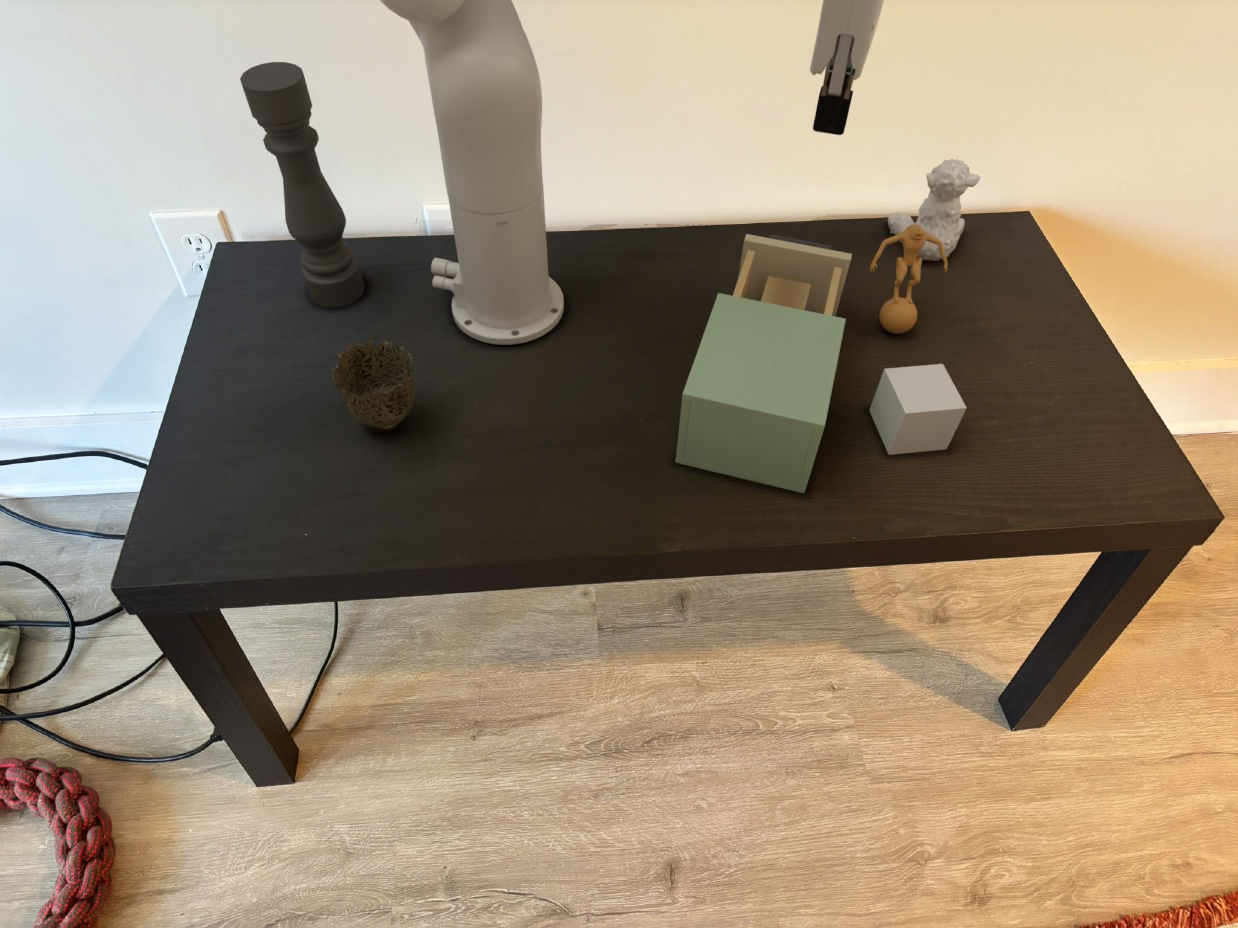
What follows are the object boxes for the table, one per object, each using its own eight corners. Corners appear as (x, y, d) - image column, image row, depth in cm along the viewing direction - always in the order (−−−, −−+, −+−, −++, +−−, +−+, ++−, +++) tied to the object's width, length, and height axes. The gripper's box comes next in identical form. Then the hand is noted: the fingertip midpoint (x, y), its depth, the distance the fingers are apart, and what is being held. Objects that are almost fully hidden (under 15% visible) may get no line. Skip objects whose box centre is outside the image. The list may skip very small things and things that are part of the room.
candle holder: (375, 285, 98) (320, 72, 79) (337, 314, 95) (270, 99, 76) (336, 267, 100) (273, 54, 81) (298, 295, 97) (222, 80, 78)
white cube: (924, 405, 87) (943, 363, 83) (946, 449, 84) (967, 407, 79) (868, 410, 87) (884, 368, 82) (888, 455, 83) (905, 413, 78)
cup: (410, 457, 82) (394, 400, 76) (338, 445, 83) (317, 387, 77) (436, 402, 86) (423, 344, 80) (368, 391, 87) (350, 333, 81)
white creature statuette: (960, 228, 107) (994, 140, 98) (972, 270, 102) (1009, 182, 93) (885, 223, 108) (912, 135, 98) (893, 265, 102) (922, 176, 93)
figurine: (860, 341, 94) (888, 251, 84) (850, 305, 97) (876, 215, 88) (934, 341, 94) (971, 251, 84) (921, 306, 98) (955, 216, 88)
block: (754, 335, 91) (760, 302, 87) (762, 309, 94) (768, 275, 90) (796, 344, 90) (804, 311, 87) (803, 317, 93) (811, 284, 89)
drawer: (744, 268, 100) (753, 211, 94) (841, 287, 98) (857, 230, 92) (711, 369, 89) (719, 311, 83) (819, 392, 87) (835, 335, 81)
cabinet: (708, 363, 91) (718, 292, 83) (825, 388, 89) (846, 318, 81) (675, 462, 82) (682, 393, 75) (804, 493, 80) (825, 425, 72)
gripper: (837, -101, 79) (803, 90, 93) (814, -41, 70) (780, 161, 84) (919, -93, 78) (872, 100, 92) (906, -30, 69) (856, 173, 83)
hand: (828, 129), depth 88 cm, fingers closed
